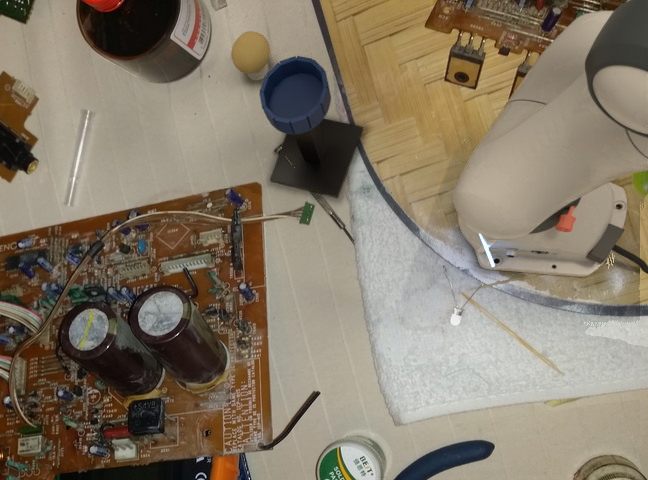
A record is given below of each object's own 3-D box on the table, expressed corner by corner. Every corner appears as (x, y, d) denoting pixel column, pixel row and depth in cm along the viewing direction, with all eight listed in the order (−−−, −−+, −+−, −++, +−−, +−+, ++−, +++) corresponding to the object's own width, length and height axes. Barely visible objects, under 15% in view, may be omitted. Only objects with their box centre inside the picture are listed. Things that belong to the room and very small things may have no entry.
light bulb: (262, 95, 123) (250, 69, 114) (233, 79, 125) (220, 52, 116) (284, 63, 122) (274, 34, 113) (255, 47, 124) (242, 17, 115)
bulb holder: (340, 77, 97) (337, 62, 93) (317, 140, 98) (313, 128, 94) (279, 66, 100) (273, 51, 96) (257, 127, 101) (250, 115, 97)
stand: (363, 129, 117) (354, 69, 96) (337, 198, 118) (323, 153, 98) (295, 114, 121) (272, 54, 101) (271, 181, 122) (244, 135, 102)
